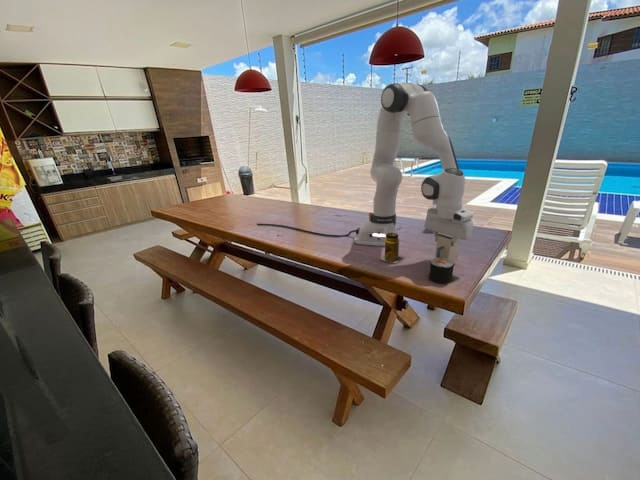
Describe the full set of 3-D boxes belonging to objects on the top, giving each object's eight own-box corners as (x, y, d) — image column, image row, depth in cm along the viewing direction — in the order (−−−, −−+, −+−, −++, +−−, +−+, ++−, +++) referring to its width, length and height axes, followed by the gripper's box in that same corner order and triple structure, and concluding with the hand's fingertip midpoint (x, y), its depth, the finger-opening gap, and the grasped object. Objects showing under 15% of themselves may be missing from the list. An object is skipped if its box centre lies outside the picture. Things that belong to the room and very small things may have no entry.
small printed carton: (456, 260, 132) (442, 267, 127) (444, 255, 136) (430, 262, 132) (460, 234, 126) (446, 240, 122) (447, 230, 131) (432, 236, 126)
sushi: (446, 285, 116) (449, 266, 112) (425, 279, 121) (427, 261, 117) (455, 277, 121) (457, 259, 117) (434, 271, 126) (436, 254, 123)
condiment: (380, 260, 139) (381, 235, 134) (390, 253, 145) (391, 229, 140) (395, 263, 135) (396, 238, 130) (404, 257, 140) (405, 232, 135)
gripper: (422, 208, 128) (420, 239, 134) (467, 218, 113) (462, 252, 119) (432, 205, 131) (429, 235, 137) (477, 214, 116) (472, 248, 122)
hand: (445, 243), depth 128 cm, fingers closed on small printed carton, 6 cm apart
